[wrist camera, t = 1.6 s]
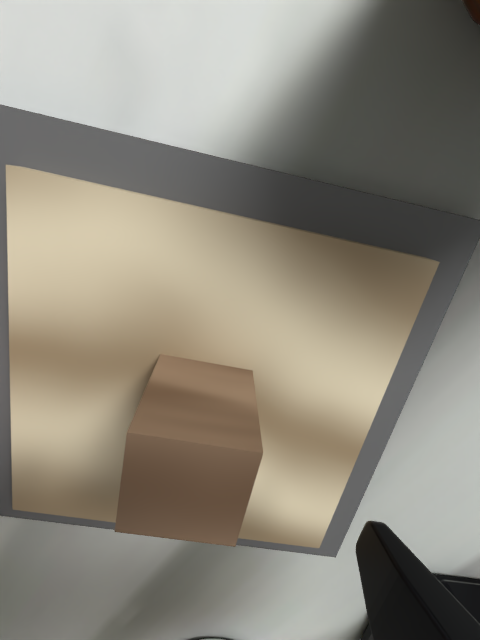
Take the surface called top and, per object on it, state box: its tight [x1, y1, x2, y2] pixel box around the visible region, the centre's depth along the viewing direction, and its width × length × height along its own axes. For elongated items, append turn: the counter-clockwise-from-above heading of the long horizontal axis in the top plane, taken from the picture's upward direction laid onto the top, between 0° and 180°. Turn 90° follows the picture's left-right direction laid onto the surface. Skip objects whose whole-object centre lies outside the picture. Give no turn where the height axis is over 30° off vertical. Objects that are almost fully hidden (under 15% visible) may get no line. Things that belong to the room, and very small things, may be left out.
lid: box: [6, 165, 440, 548], centre depth 11 cm, size 13×13×5 cm
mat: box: [0, 105, 480, 557], centre depth 13 cm, size 16×16×1 cm
